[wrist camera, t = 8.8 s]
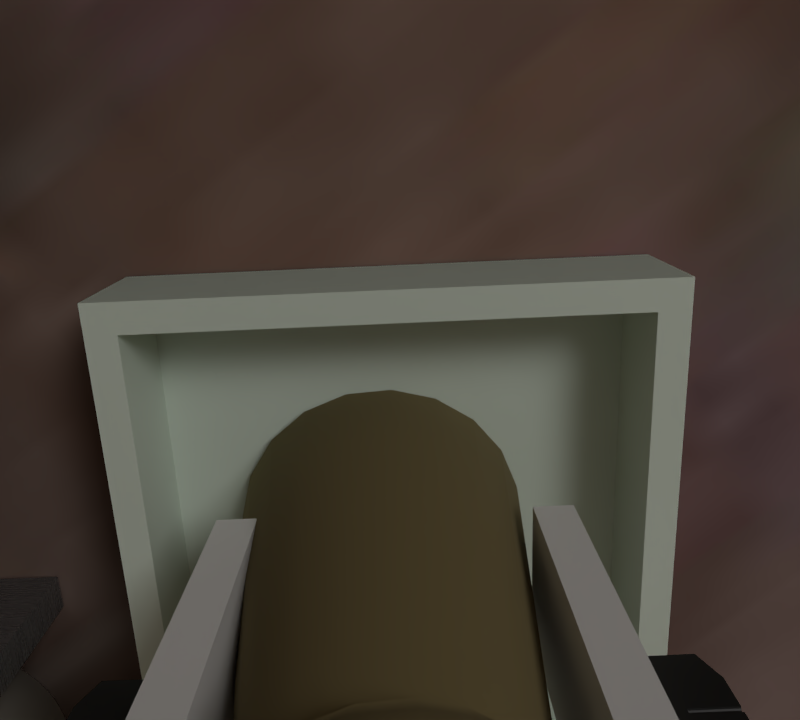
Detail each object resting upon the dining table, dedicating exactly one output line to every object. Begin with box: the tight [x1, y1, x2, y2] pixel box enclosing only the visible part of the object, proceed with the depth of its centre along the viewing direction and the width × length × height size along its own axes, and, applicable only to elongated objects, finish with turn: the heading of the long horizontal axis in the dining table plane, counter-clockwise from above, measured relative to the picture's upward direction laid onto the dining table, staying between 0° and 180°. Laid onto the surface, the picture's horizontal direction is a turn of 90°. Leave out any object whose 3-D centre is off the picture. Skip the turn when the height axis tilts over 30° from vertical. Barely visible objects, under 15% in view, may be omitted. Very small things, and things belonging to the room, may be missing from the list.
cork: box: [233, 390, 552, 720], centre depth 11 cm, size 6×6×11 cm
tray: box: [77, 254, 695, 720], centre depth 16 cm, size 11×11×2 cm
